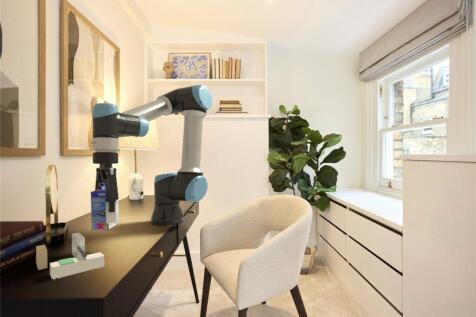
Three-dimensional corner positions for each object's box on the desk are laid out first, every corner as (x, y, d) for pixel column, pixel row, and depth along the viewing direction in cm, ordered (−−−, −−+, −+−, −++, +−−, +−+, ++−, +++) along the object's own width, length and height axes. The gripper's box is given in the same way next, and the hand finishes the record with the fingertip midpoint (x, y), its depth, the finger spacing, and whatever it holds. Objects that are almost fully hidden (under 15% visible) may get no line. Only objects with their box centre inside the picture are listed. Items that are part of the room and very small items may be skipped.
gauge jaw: (79, 252, 85) (79, 232, 85) (92, 268, 72) (92, 244, 72) (72, 254, 83) (71, 233, 83) (84, 270, 71) (83, 246, 71)
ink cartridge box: (102, 223, 91) (102, 181, 91) (119, 223, 91) (119, 180, 92) (89, 231, 81) (89, 183, 81) (108, 230, 82) (109, 183, 82)
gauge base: (90, 252, 86) (90, 236, 86) (104, 266, 74) (104, 248, 74) (36, 263, 77) (36, 246, 77) (41, 282, 65) (41, 261, 65)
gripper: (84, 152, 93) (84, 216, 92) (102, 149, 75) (102, 228, 75) (107, 153, 98) (107, 213, 97) (130, 150, 80) (130, 224, 80)
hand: (105, 219), depth 86 cm, fingers closed on ink cartridge box, 11 cm apart
